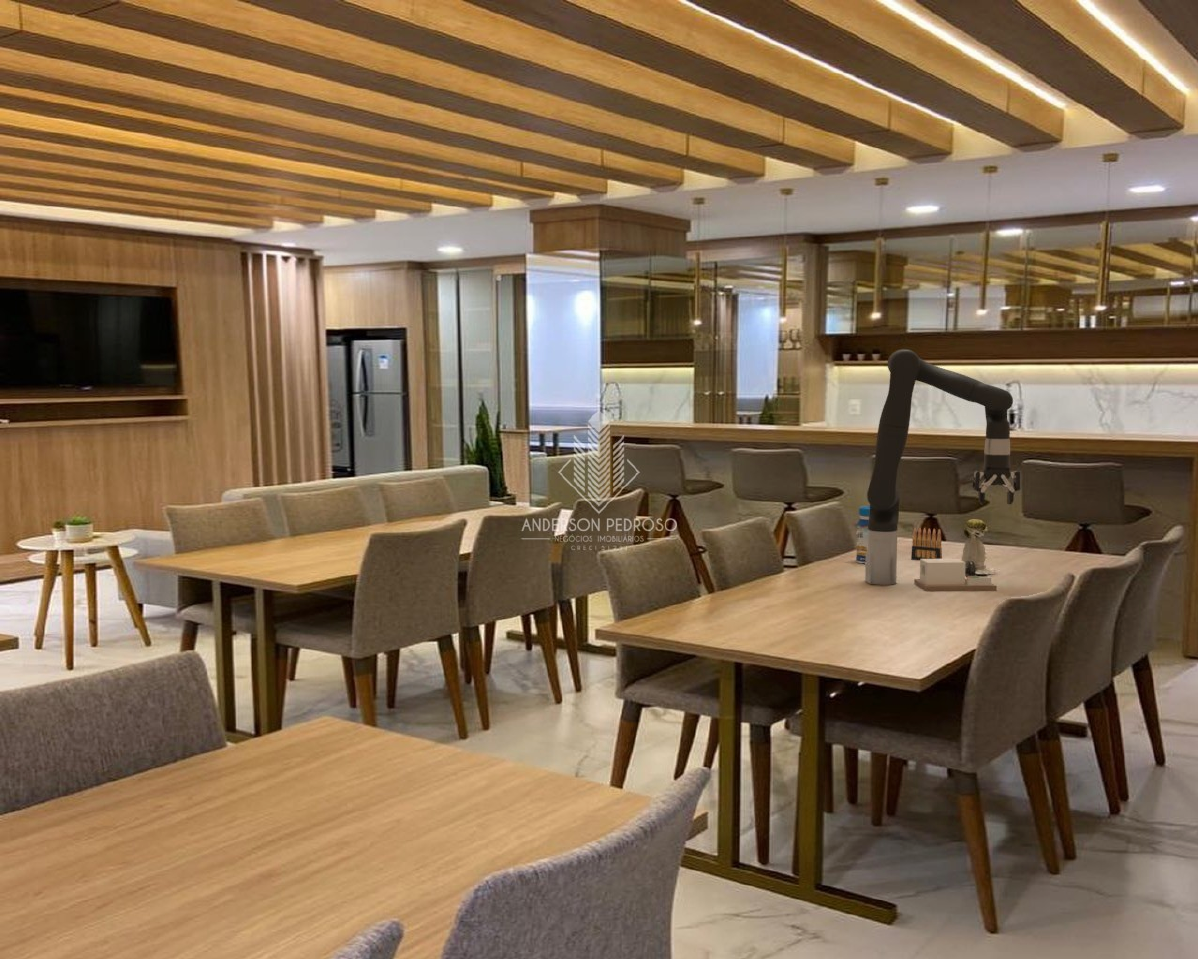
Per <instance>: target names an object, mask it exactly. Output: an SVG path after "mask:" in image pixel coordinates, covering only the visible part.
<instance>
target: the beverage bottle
mask: <svg viewBox="0 0 1198 959" xmlns="http://www.w3.org/2000/svg"><path fill="white" fill-rule="evenodd" d="M869 514H870V505H869V506H866V505H865V506H859V507H858V516H859V519H858V521H857V524H856V528H857V530H856V533H855V535H856V557H855V559H856V563H859V564H862V563H866V552H867V551H868V520H869Z"/></svg>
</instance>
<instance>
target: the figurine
mask: <svg viewBox="0 0 1198 959" xmlns="http://www.w3.org/2000/svg"><path fill="white" fill-rule="evenodd" d="M988 531H989V528H988V525H987V523H986V522H984V520H982V519H977V518H971V519H969V520H967V521H966V523H965V525H964V526H963V535H964V536H965V537H966V540H965V543H964V546H963V547H962V548H963V549H962V554H961V556H962V557H961V560H962V561H964V562H965V563H966V561H973V562H974V564H975V569H976V574H977V575H986V577H989V575H995V574H996V571H997V569H995V568H994V567H995V566H994V565H992V567H990V568H987V565H986V564H985V561H986V559H987V552H986V548H985V546H984V542H983V540H982V539H981V537H985V536H986V535H987V534H988V533H987V532H988Z"/></svg>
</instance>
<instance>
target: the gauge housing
mask: <svg viewBox="0 0 1198 959" xmlns="http://www.w3.org/2000/svg"><path fill="white" fill-rule="evenodd" d="M913 581H914V585H916V586H917V587H918V588H920V589H922V590H923V591H925V592H967V591H968V592H981V591H982V592H984V591H985V592H992V591H993V592H995V591H997V587H998V586H997V585H996V584H994V583H992V577H991V576H978V575H975V576H968V577H967V578H966V575H965V562H964V561H962V559H959V558H942V559H920V562H919V578H914V579H913Z"/></svg>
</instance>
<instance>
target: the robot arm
mask: <svg viewBox="0 0 1198 959" xmlns="http://www.w3.org/2000/svg"><path fill="white" fill-rule="evenodd" d="M887 368H888V371H889V386H888V393H887V396H886V399H885V402H884V405H883V408H882V411H881V414H880V418H879V422H878V429H877V433H876V434H877V435H876V442H875V443H876V444H875V456H874V465H873V470H872V475H871V479H870V482H869V485H868V488H867V492H866V497H867V498H866V499H867V502H868V503H869V506H870V514H869V520H868V551H867V552H866V564H865V570H864V572H865V573H864V576H865V577H864V579H865V582H866V583H868V584H869V585H878V586H879V585H880V586H882V585H884V586H887V585H888V586H889V585H891V586H892V585H896V584H897V575H898V574H897V570H898V569H897V568H898V566H897V564H898V562H897V561H898V558H897V557H898V527H899V526H898V525H899V516H900V515H899V512H900V492H899V487H898V486H897V478H898V476H897V475H898V469H899V466H900V462H901V460H902V457H903V454H904V451H905V449H906V448H905V447H906V444H907V440H908V435H909V428H910V421H911V411H912V400H913V399H912V398H913V392H914V389H915V385H916V382H920V383H924V384H926V385H929V386H932V387H934V388H936V389H938V390H940V391H943V392H945V393H946V394H950V395H952V396H954V397H956V398H959V399H962V400H964V401H967V402H971V403H976V404H979V405H981V406H983V407H984V414H985V420H986V425H985V426H986V428H985V442H984V450H983V453H984V458H983V460H984V461H983V462H984V463H983V464H984V465H983V466H984V467H983V471H977V470H975V471H973V477H972V486H971V487H972V490H974V491H976V492H978V495H977V497H978V498H977V501H978V503H979V505H985V503H986V500H985V498H986V494H985V491H986V490H987V489H988V488H989V487H990V486H1004V487H1005V489H1006V490H1007V492H1006V494H1007V495H1006V503H1007V505H1012V503H1014V498H1015V495H1014V494H1015V492H1017V491H1021V473H1020V471H1017V470H1014V471H1011V470H1010V467H1011V466H1010V465H1011V440H1010V438H1011V437H1010V436H1011V433H1010V432H1011V425H1010V421H1009V419H1008V411H1009V410H1010V408H1012V406H1013V402H1014V398H1013V396H1012V395H1011V393H1010V392H1009V391H1008V390H1006V389H1003V388H1001V387H997V386H994V385H990V384H987V383H984V382H982V381H980V380H978V379H975V378H973V377H970V376H968V375H965V374H962V373H959V372H955V371H953V370H950V369H945V368H944V367H943V368H942V367H939V366H936V365H934V364H931V363H929V362H927V361H926V360H923V359H922V358H920V357H918V354H917V353H916V352H915V351H912V350H910V349H904V348H903V349H902V348H901V349H898V350H896V351H894V352H892V353H891V355H890V356H889V357H888V360H887ZM982 477H983V478H984V480H983V482H982V483H981V484H980V480H981V479H982ZM1010 477H1011V478H1012V479H1013V480H1012V481H1013V486H1012V484H1011V482H1010V481H1009V479H1010Z"/></svg>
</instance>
